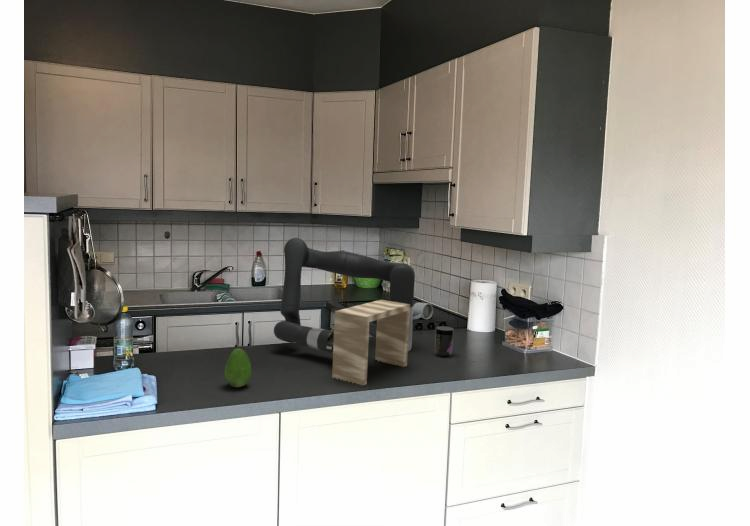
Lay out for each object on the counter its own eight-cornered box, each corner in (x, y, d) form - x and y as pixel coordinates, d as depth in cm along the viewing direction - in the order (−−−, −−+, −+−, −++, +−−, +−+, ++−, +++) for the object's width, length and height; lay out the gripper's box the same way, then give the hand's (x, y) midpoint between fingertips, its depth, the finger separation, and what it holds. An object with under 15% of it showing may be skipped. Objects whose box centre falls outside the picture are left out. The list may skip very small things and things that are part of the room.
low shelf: (378, 359, 216) (380, 299, 213) (406, 365, 209) (410, 304, 207) (332, 378, 192) (334, 311, 190) (363, 385, 186) (366, 316, 183)
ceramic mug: (420, 315, 296) (421, 300, 295) (433, 318, 290) (433, 302, 289) (406, 318, 289) (406, 302, 288) (418, 321, 283) (419, 305, 282)
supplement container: (445, 358, 220) (447, 331, 219) (430, 355, 225) (432, 328, 223) (455, 355, 226) (457, 328, 224) (440, 351, 230) (442, 325, 228)
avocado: (241, 392, 175) (242, 353, 174) (219, 388, 178) (219, 349, 176) (256, 384, 182) (257, 346, 181) (234, 380, 185) (235, 343, 184)
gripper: (310, 333, 204) (350, 342, 196) (335, 326, 217) (374, 334, 208) (309, 354, 205) (349, 364, 196) (334, 346, 217) (373, 355, 209)
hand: (362, 348), depth 202 cm, fingers closed on supplement bottle, 5 cm apart
